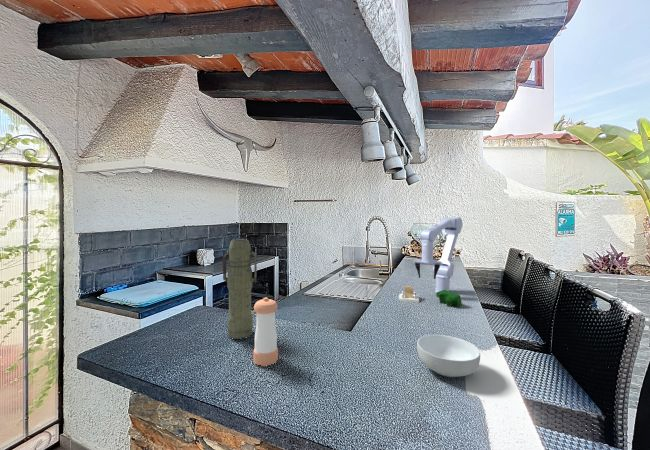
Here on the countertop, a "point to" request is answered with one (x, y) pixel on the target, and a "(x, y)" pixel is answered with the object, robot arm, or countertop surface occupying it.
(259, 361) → the pepper shaker
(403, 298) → the plate
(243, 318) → the thermos
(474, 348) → the cereal bowl
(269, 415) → the countertop surface
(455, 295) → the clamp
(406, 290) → the block
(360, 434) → the countertop surface
